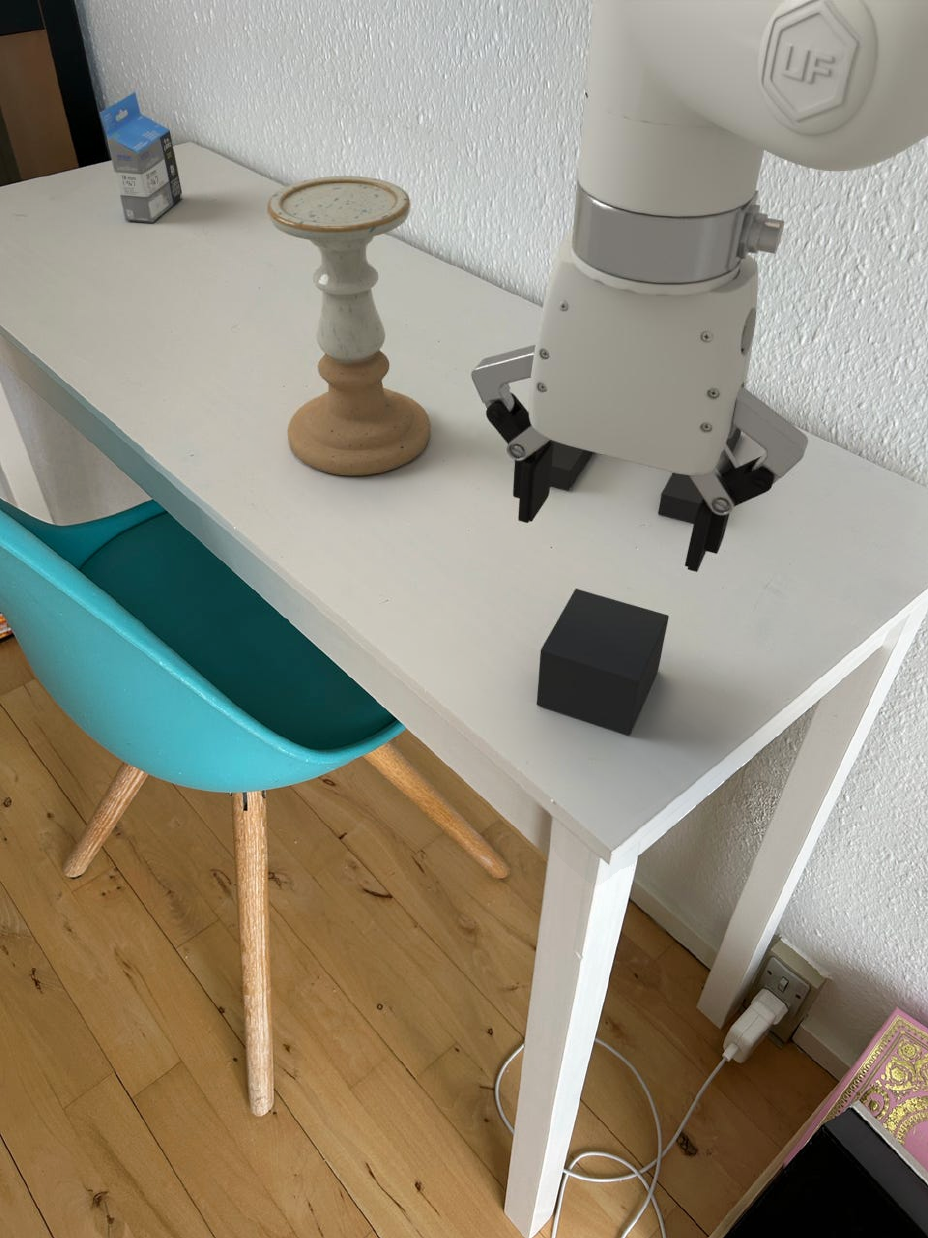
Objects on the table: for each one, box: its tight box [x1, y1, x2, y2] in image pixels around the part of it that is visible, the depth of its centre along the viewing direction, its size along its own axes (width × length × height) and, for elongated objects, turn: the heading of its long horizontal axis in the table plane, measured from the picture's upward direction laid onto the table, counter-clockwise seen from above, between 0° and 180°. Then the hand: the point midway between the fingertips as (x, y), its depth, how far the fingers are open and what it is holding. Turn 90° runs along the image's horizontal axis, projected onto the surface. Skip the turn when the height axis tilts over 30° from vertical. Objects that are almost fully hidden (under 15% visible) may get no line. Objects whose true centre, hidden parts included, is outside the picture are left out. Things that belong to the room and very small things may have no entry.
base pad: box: [550, 427, 742, 524], centre depth 82 cm, size 14×14×2 cm
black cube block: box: [536, 588, 670, 737], centre depth 61 cm, size 6×6×5 cm
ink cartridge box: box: [99, 91, 184, 224], centre depth 119 cm, size 9×4×12 cm, turn 167°
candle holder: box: [266, 175, 431, 476], centre depth 78 cm, size 12×12×20 cm
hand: (613, 531), depth 55 cm, fingers open, 9 cm apart
